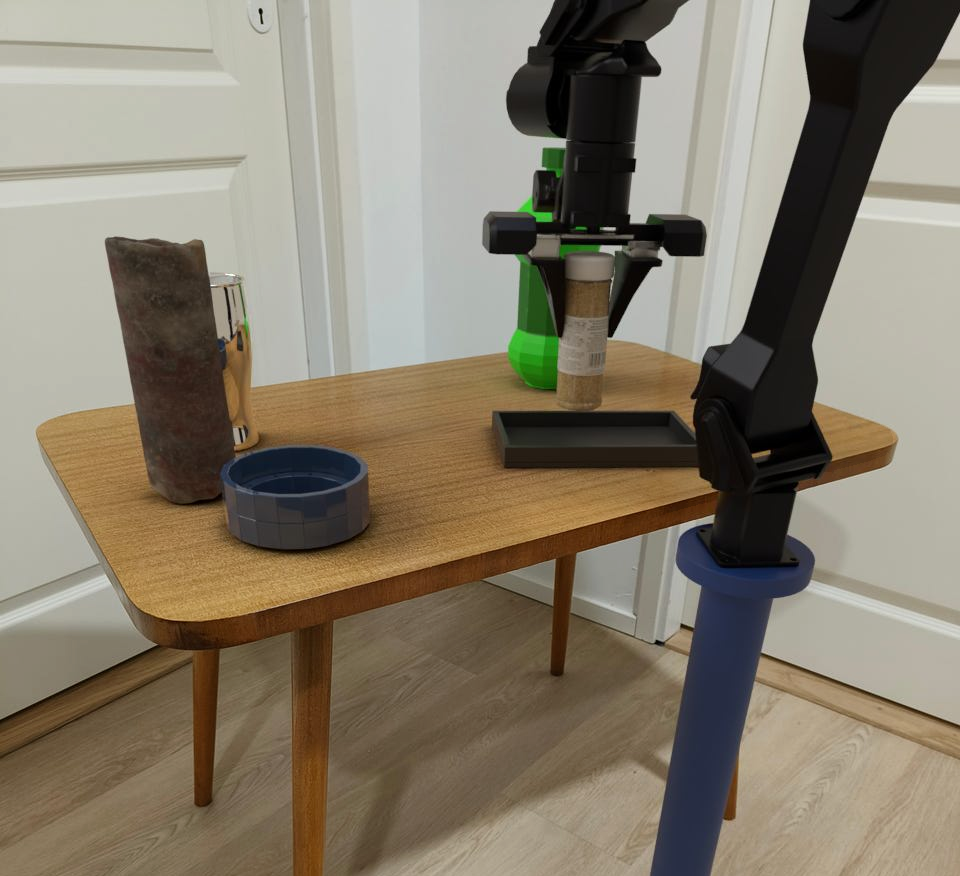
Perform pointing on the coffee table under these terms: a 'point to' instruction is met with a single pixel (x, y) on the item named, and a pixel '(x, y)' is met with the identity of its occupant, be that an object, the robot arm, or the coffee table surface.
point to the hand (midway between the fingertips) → (584, 336)
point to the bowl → (296, 496)
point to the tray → (593, 439)
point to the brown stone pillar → (173, 363)
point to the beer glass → (235, 353)
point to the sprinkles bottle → (584, 329)
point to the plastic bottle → (538, 305)
